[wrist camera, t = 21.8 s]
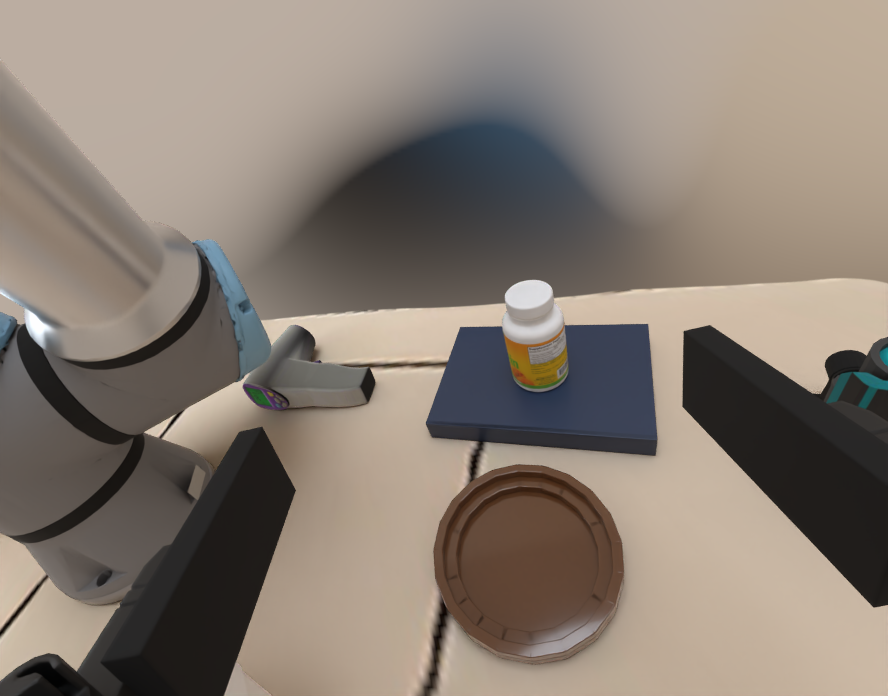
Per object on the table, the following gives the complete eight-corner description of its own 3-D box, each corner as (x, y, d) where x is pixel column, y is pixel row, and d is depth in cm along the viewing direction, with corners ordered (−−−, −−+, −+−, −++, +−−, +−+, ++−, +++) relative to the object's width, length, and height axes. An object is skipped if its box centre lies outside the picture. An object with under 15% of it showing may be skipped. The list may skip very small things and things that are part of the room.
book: (431, 437, 43) (425, 423, 42) (464, 340, 52) (460, 327, 51) (655, 455, 36) (657, 440, 34) (647, 339, 45) (648, 323, 44)
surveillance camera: (941, 274, 27) (1026, 399, 20) (867, 399, 35) (913, 518, 28) (825, 276, 29) (870, 389, 23) (780, 393, 37) (804, 501, 31)
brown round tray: (407, 601, 32) (400, 592, 31) (486, 456, 40) (483, 444, 39) (588, 712, 25) (587, 706, 24) (643, 511, 33) (644, 499, 32)
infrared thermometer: (367, 416, 49) (252, 413, 52) (394, 342, 57) (294, 344, 61) (354, 389, 46) (233, 388, 49) (385, 315, 54) (279, 319, 58)
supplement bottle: (507, 362, 45) (489, 285, 39) (558, 347, 45) (549, 268, 38) (520, 400, 41) (504, 321, 35) (577, 384, 40) (570, 302, 34)
